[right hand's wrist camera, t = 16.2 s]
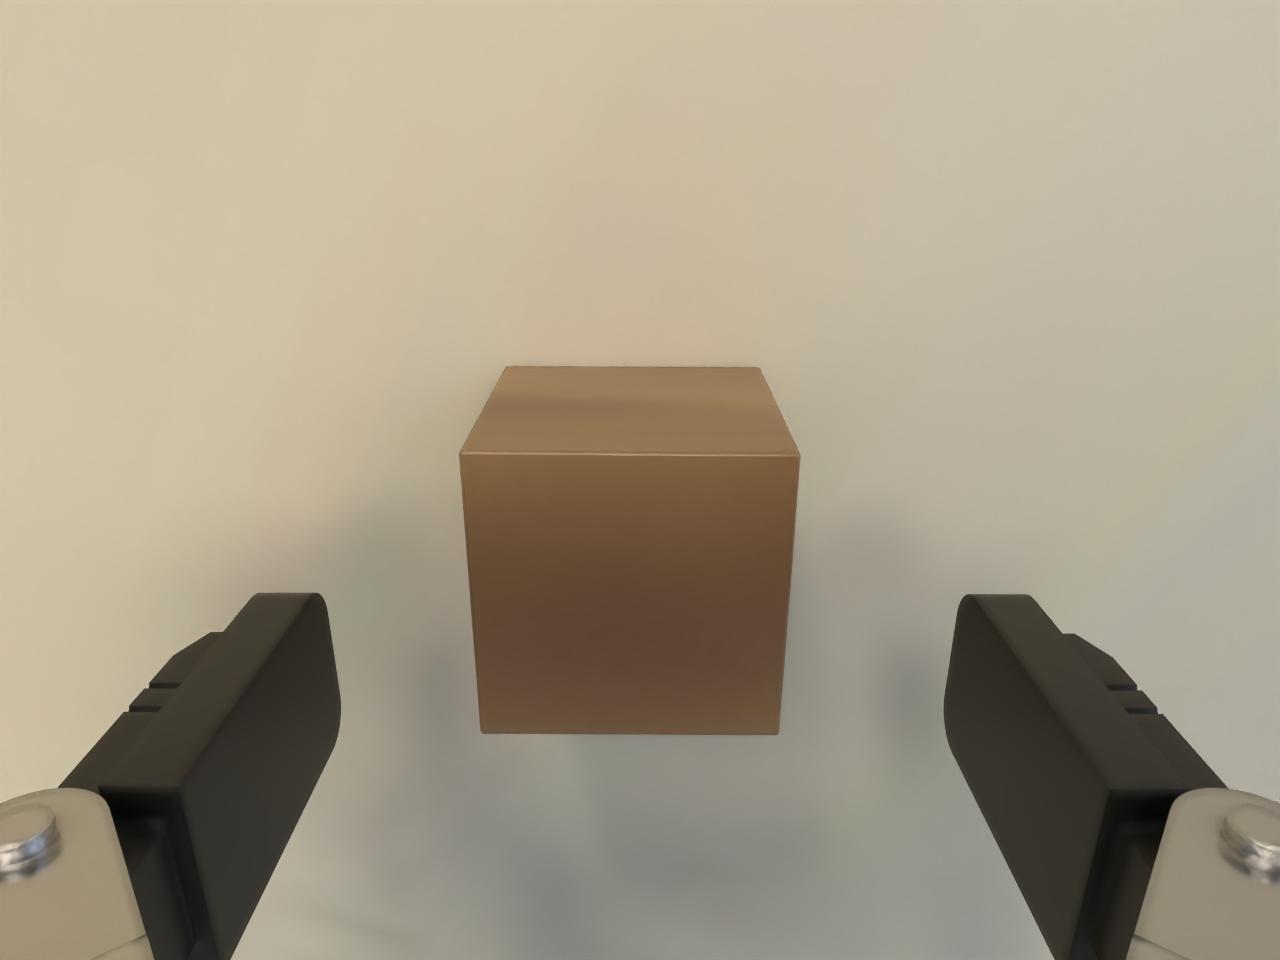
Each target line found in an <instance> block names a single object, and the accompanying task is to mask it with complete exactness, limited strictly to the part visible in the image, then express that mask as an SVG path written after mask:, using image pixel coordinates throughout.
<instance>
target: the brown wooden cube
mask: <svg viewBox="0 0 1280 960" xmlns="http://www.w3.org/2000/svg"><path fill="white" fill-rule="evenodd" d="M459 459H460V472H461V485H462V498H463V511H464V524H465V537H466V550H467V563H468V576H469V588H470V601H471V614H472V627H473V640H474V653H475V666H476V679H477V692H478V705H479V718H480V730H481V733H483V734H666V735H778V733H779V728H780V715H781V702H782V689H783V675H784V662H785V649H786V636H787V623H788V610H789V597H790V584H791V571H792V558H793V545H794V532H795V519H796V506H797V493H798V480H799V467H800V453H799V451H798V449H797V447H796V445H795V442H794V440H793V438H792V436H791V434H790V432H789V430H788V427H787V425H786V423H785V421H784V419H783V417H782V415H781V412H780V410H779V408H778V406H777V404H776V402H775V400H774V398H773V395H772V393H771V391H770V389H769V387H768V385H767V383H766V380H765V378H764V376H763V374H762V372H761V370H760V368H709V367H506V368H505V370H504V372H503V373H502V375H501V377H500V379H499V381H498V383H497V384H496V386H495V388H494V390H493V392H492V394H491V395H490V397H489V399H488V401H487V403H486V405H485V406H484V408H483V410H482V412H481V414H480V416H479V418H478V419H477V421H476V423H475V425H474V427H473V429H472V430H471V432H470V434H469V436H468V438H467V440H466V441H465V443H464V445H463V447H462V449H461V451H460V453H459Z"/></svg>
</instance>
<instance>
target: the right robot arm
mask: <svg viewBox="0 0 1280 960" xmlns="http://www.w3.org/2000/svg"><path fill="white" fill-rule="evenodd" d="M340 717H341V699H340V691H339V684H338V678H337V671H336V664H335V657H334V651H333V644H332V637H331V631H330V624H329V617H328V611H327V607H326V603H325V601H324V599H323V597H322V596H321V595H320V594H319V593H257V594H255V595H254V596H253V597H252V598H251V599H250V600H249V601H248V602H247V604H246V605H245V606H244V607H243V609H242V610H241V611H240V612H239V613H238V615H237V616H236V617H235V618H234V620H233V621H232V622H231V623H230V624H229V626H228V627H227V628H226V629H225V631H224V632H210V633H209V634H207V635H205V636H204V637H202V638H201V639H199V640H197V641H196V642H194V643H193V644H191V645H189V646H188V647H186V648H185V649H183V650H181V651H180V652H178V653H177V654H175V655H173V656H172V658H171V659H170V660H169V661H168V662H167V663H166V664H165V666H164V667H163V668H162V669H161V670H160V671H159V672H158V674H157V675H156V676H155V677H154V678H153V679H152V680H151V682H150V683H149V689H144V690H143V691H142V692H141V693H140V694H139V695H138V696H137V698H136V699H135V700H134V701H133V702H132V703H131V704H130V706H129V712H123V714H122V715H121V716H120V717H119V718H118V719H117V720H116V722H115V723H114V724H113V725H112V726H111V727H110V728H109V730H108V731H107V732H106V733H105V734H104V735H103V736H102V738H101V739H100V740H99V741H98V742H97V743H96V744H95V746H94V747H93V748H92V749H91V750H90V751H89V752H88V754H87V755H86V756H85V757H84V758H83V759H82V760H81V762H80V763H79V764H78V765H77V766H76V767H75V768H74V770H73V771H72V772H71V773H70V774H69V775H68V776H67V778H66V779H65V780H64V781H63V782H62V783H61V784H60V786H59V787H58V788H55V789H48V790H42V791H37V792H33V793H29V794H25V795H22V796H19V797H16V798H13V799H10V800H8V801H5V802H3V803H0V960H230V959H231V957H232V955H233V953H234V951H235V949H236V947H237V945H238V943H239V941H240V939H241V937H242V935H243V933H244V931H245V929H246V927H247V925H248V923H249V920H250V918H251V916H252V914H253V912H254V910H255V908H256V906H257V904H258V902H259V900H260V898H261V896H262V894H263V892H264V890H265V888H266V886H267V884H268V882H269V880H270V878H271V876H272V873H273V871H274V869H275V867H276V865H277V863H278V861H279V859H280V857H281V855H282V853H283V851H284V849H285V847H286V845H287V843H288V841H289V839H290V837H291V835H292V833H293V831H294V829H295V826H296V824H297V822H298V820H299V818H300V816H301V814H302V812H303V810H304V808H305V806H306V804H307V802H308V800H309V798H310V796H311V794H312V792H313V790H314V788H315V786H316V784H317V782H318V779H319V777H320V775H321V773H322V771H323V769H324V767H325V765H326V763H327V761H328V759H329V757H330V755H331V753H332V751H333V749H334V746H335V743H336V740H337V736H338V732H339V726H340ZM944 723H945V730H946V736H947V740H948V743H949V746H950V749H951V751H952V753H953V755H954V757H955V759H956V761H957V763H958V765H959V767H960V769H961V772H962V774H963V776H964V778H965V780H966V782H967V784H968V786H969V788H970V790H971V792H972V794H973V796H974V798H975V800H976V802H977V804H978V806H979V808H980V810H981V812H982V814H983V816H984V818H985V820H986V822H987V824H988V826H989V828H990V830H991V832H992V834H993V836H994V838H995V840H996V842H997V844H998V846H999V848H1000V850H1001V852H1002V854H1003V856H1004V858H1005V860H1006V862H1007V864H1008V866H1009V868H1010V870H1011V872H1012V874H1013V876H1014V879H1015V881H1016V883H1017V885H1018V887H1019V889H1020V891H1021V893H1022V895H1023V897H1024V899H1025V901H1026V903H1027V905H1028V907H1029V909H1030V911H1031V913H1032V915H1033V917H1034V919H1035V921H1036V923H1037V925H1038V927H1039V929H1040V931H1041V933H1042V935H1043V937H1044V939H1045V941H1046V943H1047V945H1048V947H1049V949H1050V951H1051V953H1052V955H1053V957H1054V959H1055V960H1280V803H1277V802H1275V801H1272V800H1270V799H1267V798H1264V797H1261V796H1258V795H1255V794H1251V793H1247V792H1243V791H1238V790H1232V789H1228V788H1227V786H1226V785H1225V784H1224V783H1223V782H1222V781H1221V780H1220V778H1219V777H1218V776H1217V775H1216V774H1215V773H1214V772H1213V771H1212V769H1211V768H1210V767H1209V766H1208V765H1207V764H1206V763H1205V761H1204V760H1203V759H1202V758H1201V757H1200V756H1199V755H1198V754H1197V752H1196V751H1195V750H1194V749H1193V748H1192V747H1191V746H1190V745H1189V743H1188V742H1187V741H1186V740H1185V739H1184V738H1183V737H1182V735H1181V734H1180V733H1179V732H1178V731H1177V730H1176V729H1175V728H1174V726H1173V725H1172V724H1171V723H1170V722H1169V721H1168V720H1167V718H1166V717H1165V716H1164V715H1163V714H1158V712H1157V707H1156V706H1155V705H1154V704H1153V703H1152V701H1151V700H1150V699H1149V698H1148V697H1147V696H1146V695H1145V694H1144V692H1143V691H1138V690H1137V685H1136V683H1135V682H1134V681H1133V680H1132V679H1131V678H1130V677H1129V675H1128V674H1127V673H1126V672H1125V671H1124V670H1123V669H1122V668H1121V666H1120V665H1119V664H1118V663H1117V662H1116V661H1115V660H1114V658H1113V657H1111V656H1110V655H1108V654H1106V653H1105V652H1103V651H1102V650H1100V649H1098V648H1097V647H1095V646H1094V645H1092V644H1090V643H1089V642H1087V641H1085V640H1084V639H1082V638H1081V637H1079V636H1077V635H1076V634H1062V633H1061V631H1060V630H1059V629H1058V628H1057V626H1056V625H1055V624H1054V623H1053V622H1052V620H1051V619H1050V618H1049V617H1048V616H1047V614H1046V613H1045V612H1044V611H1043V610H1042V608H1041V607H1040V606H1039V605H1038V603H1037V602H1036V601H1035V600H1034V599H1033V598H1032V597H1031V596H1029V595H1026V594H968V595H965V596H964V597H963V598H962V600H961V602H960V604H959V608H958V612H957V617H956V624H955V630H954V637H953V644H952V650H951V657H950V663H949V670H948V677H947V683H946V690H945V697H944Z"/></svg>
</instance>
